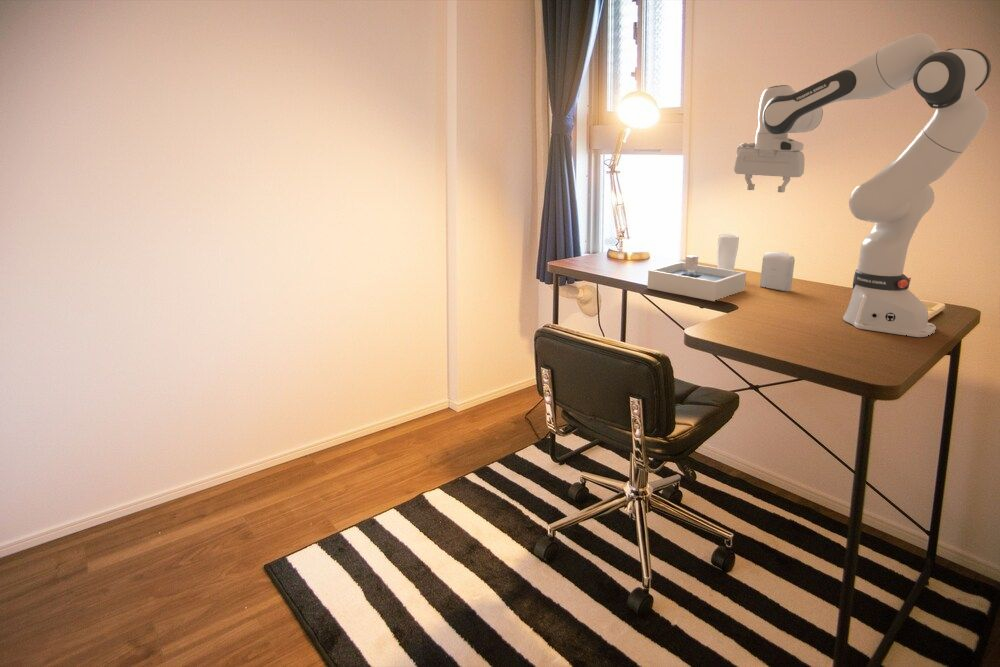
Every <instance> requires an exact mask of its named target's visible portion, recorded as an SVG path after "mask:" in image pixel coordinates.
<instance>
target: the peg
mask: <svg viewBox="0 0 1000 667" xmlns="http://www.w3.org/2000/svg"><path fill="white" fill-rule="evenodd" d="M684 263H685V273H684V276H688V277H694V278H697V267H698V265H699V255H691V254H690V255H685V262H684Z"/></svg>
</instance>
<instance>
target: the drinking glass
mask: <svg viewBox="0 0 1000 667" xmlns="http://www.w3.org/2000/svg"><path fill="white" fill-rule="evenodd" d="M717 240H718V241H717V250H716V251H717V255H716V256H717V257H716V258H717V262H716V263H717V265H716V266H717V267H716V268H721V269H728V270H734V271H735V266H736V260H737V256H738V250H739V240H740V236H739V235H737V234H729V233H728V234H727V233H724V234H719V235H718V238H717Z"/></svg>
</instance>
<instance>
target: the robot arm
mask: <svg viewBox="0 0 1000 667" xmlns="http://www.w3.org/2000/svg"><path fill="white" fill-rule="evenodd" d="M991 71H992V64H991V61H990V59H989V57H988V55H986V54H985V53H984V52H982V51H980V50H977V49H975V48H974V49H973V48H948V49H945V50H942V49H940V48H939V46H938V44H937V42H936V40H935V39H934V38H933V37H932V36H931V35H929V34H928V33H924V32H917V33H913V34H910V35H908V36H905V37H902V38H900V39H897V40H895V41H893V42H890V43H888V44H886V45H885V46H883V47H881V48H879V49H877V50H875V51H874V52H872V53H870V54H868V55H867V56H865V57H863V58H860V60H858V61H856V62H855V63H852V64H851V65H849V66H847V67H846V68H843V69H842V70H840V71H837V73H834V74H833V75H830V76H828V77H826V78H824V79H822V80H820V81H817V82H815V83H813V84H811V85H809V86H807V87H805V88H803V89H800V90H799V91H796V90H794V88H792V86H790V85H788V84H779V85H773V86H770V87H767V88H766V89H764V91H762V94H761V97H760V101H759V106H758V107H759V108H758V112H757V113H758V115H757V120H758V126H757V129H756V132H755V133H756V134H755V142H754V143H753V142H750V143H748V142H742V143H741V144H739V145H738V146H737V147H736V158H735V162H734V167H733V168H734V169H733V170H734V173H735V174H736V175H744V180H745V182H746V184H747V191H754V190H755V186H756V184H755V183H753V182H752V178H753V176H765V177H766V176H767V177H782V181H783V182H782V184H781V185H778V186H777V193H783V194H784V193H785V191H786V187H787V185H788V184H789V183H790V181H791V178H801V177H802V176H803V175H804V172H805V155H804V153H803V152H802V151H803V150H804V143H803V142H800V141H799V140H798V141H797V140H795V139H792V138H790V137H789V136H788V135H789V134H797V133H802V134H803V133H808V132H812V131H814V130H815V129H816V128H818V126H820V124H821V122H822V119H823V115H824V114H823V112H824V111H823V107H825V106H828V105H829V104H834V103H836V102H842V101H851V100H853V101H854V100H870V99H874V98H879V97H882V96H885V95H888V94H890V93H892V92H895V91H897V90H898V89H901V88H902V87H904V86H906V85H908V84H911V83H913V86H914V89H915V90H916V93H918V95H920V97H921V98H922V99H924V101H925V102H926V103H927V105H928V106H929V107H930V108H932V109H935V111H934V113H933V114H932V115H931V117H930V119H929V120H928V121H927V122H926V123H925V124H924V125H923V127H922V128H921V129H920V130H919V132H918V133H917V134H916V135H915V137H914V138H912V140H911V141H910V143H909V144H908V145H907V146H906V148H905V149H904V150H903V151H902V152H901V153H900V154H899V155H898V156H896V157H895V158H894V159H893V160H892V161H891V162H890V163H888V164H887V165H886V166H885V167H884V168H883V169H881V170H880V171H879V172H877V173H876V174H875V175H874V176H872V177H871V178H869V179H868V180H867V181H864V182H863V183H861V184H859V185H857V186H856V187H855V188H854V189H853V190H852V192H851V194H850V196H849V200H848V206H849V210H850V213H851V214H852V216H853V217H854V218H856V219H857V220H860V221H863V222H869V223H875V224H874V225H873V227H872V229H871V231H870V233H868V235H867V236H866V237H865V238H864V239H863V240H862V243H861V244H860V251H859V255H858V256H859V257H858V263H857V268H856V270H855V271H854V275H853V281H852V294H851V297H850V300H849V303H848V305H847V309H846V311H845V313H844V315H843V317H842V319H843V321H845V322H847V323H848V324H851V325H853V326H854V327H855V328H857V329H860V330H867V331H873V332H879V333H880V332H881V333H887V334H894V335H900V336H906V335H907V337H915V338H924V337H929V336H932V335H933V334H935V332H936V331H937V326H936V325H935V324H934V323H931V322H929V311H928V307H927V305H926V303H924V302H923V301H922V300H920V299H919V298H918V297H917V296H916V295H915V294H914V293H913V292H912V291H911V290H909V287H910V284H911V283H910V282H911V280H912V277H908V276H906V275H905V274H904V269H905V264H906V259H907V254H908V249H909V245H910V243H911V240H912V238H913V236H914V233H915V231H916V229H917V227H918V225H919V223H920V222H921V220H922V218H923V217H924V216H925V215H926V214H927V213H928V212H929V211H930V210H931V209H932V207H933V204H934V203H935V202H934V201H935V192H934V190H933V188H932V186H931V185H930V184H932V183H934V182H935V181H937V180H939V179H941V178H942V177H943V176H944V175H945V174H946V173H947V171H948V170H949V169H950V168H951V167H952V166H953V165H954V164H955V162H957V160H958V159H959V158H960V157H961V156H962V155H963V153H964V152H966V150H967V149H968V148H969V146H970V145H971V144H972V143H973V141H974V140H975V139H976V137H977V136H978V135H979V133H980V132H981V130H982V129H983V127H984V125H985V124H986V122H987V120H988V118H989V115H990V110H989V107H988V106H987V105H988V104H986V102H985V101H984V100H983V99H982V98H981V97H978V95H977V94H976V91H978V90H979V89H981V88H982V87H983V86H984V85H985V83H986V82H987V81H988V79H989V78H990V75H991ZM935 330H936V331H935ZM932 333H933V334H932ZM931 334H932V335H931ZM928 335H929V336H928Z"/></svg>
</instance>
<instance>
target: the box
mask: <svg viewBox="0 0 1000 667" xmlns="http://www.w3.org/2000/svg"><path fill="white" fill-rule="evenodd" d="M647 273H648V274H647V287H646V288H647V289H650V290H655V291H658V292H659V291H660V292H665V293H670V294H675V295H679V296H680V295H681V296H686V297H691V298H695V299H700V300H706V301H711V302H716V301H715V300H717V299H719V298H722V297H725V296H728V297H730V296H729V295H731V296H733V295H736V294H738V292H739V293H741V292H743V290H744V291H745V286H746V285H745V284H746V279H747V278H746V276H747V272H745V271H739V270H735V269H734V270H728V269H721V268H717V267H714V266H708V265H703V264H702V265H701V264H698V267H697V278H694V277H688V276H684V273H685V262H684V261H683V262H682V261H678V262H674V263H671V264H668V265H667V264H666V265H664V266H659V267H656V268H653V269H649V270H648V271H647ZM735 293H736V294H735ZM732 294H733V295H732ZM725 298H726V297H725ZM722 299H723V298H722ZM717 301H718V300H717Z"/></svg>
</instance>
